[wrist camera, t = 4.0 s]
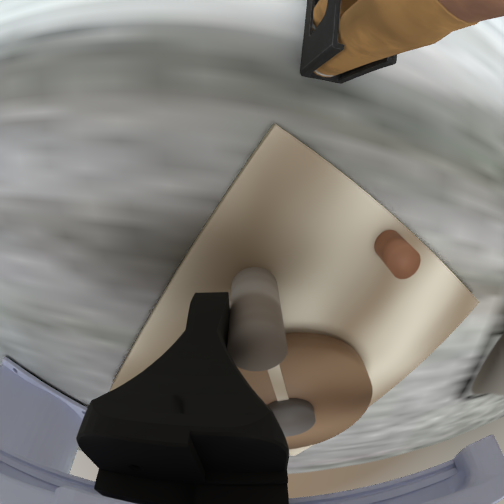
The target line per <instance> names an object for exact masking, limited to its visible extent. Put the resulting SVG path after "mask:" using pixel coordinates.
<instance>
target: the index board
mask: <svg viewBox="0 0 504 504" xmlns="http://www.w3.org/2000/svg"><path fill="white" fill-rule="evenodd" d="M250 267H260V268H263V269H266V270H268V271H269V272H271V273H272V274H273V275H274V277H275V278H276V281H277V285H278V291H279V297H280V304H281V310H282V316H283V322H284V329H285V333H291V332H303V333H314V334H321V335H325V336H329V337H332V338H335V339H338V340H340V341H342V342H344V343H346V344H348V345H349V346H350V347H352V348H353V349H354V350H355V351H356V352H357V353H358V354H359V355H360V357H361V358H362V360H363V362H364V365H365V367H366V370H367V372H368V375H369V378H370V380H371V384H372V390H373V394H372V399H371V402H370V404H369V406H370V405H372V404H373V403H374V402H376V401H377V400H378V399H379V398H381V397H382V396H383V395H385V394H386V393H387V392H388V391H389V390H391V389H392V388H393V387H394V386H395V385H397V384H398V383H399V382H400V381H401V380H403V379H404V378H405V377H406V376H407V375H408V374H409V373H411V372H412V371H413V370H414V369H415V368H416V367H417V366H418V365H419V364H421V363H422V362H423V361H424V360H425V359H426V358H427V357H428V356H429V355H430V354H431V353H432V352H433V351H434V350H435V349H436V348H437V347H438V346H439V345H440V344H441V343H442V342H443V341H444V340H445V339H446V338H447V337H448V336H449V335H450V334H451V333H452V332H453V331H454V330H455V329H456V328H457V327H458V326H459V325H460V324H461V322H462V321H463V320H464V319H465V318H466V317H467V316H468V315H469V314H470V312H471V311H472V310H473V309H474V308H475V307H476V305H477V304H478V303H479V301H478V300H477V299H476V298H475V297H474V296H473V294H472V293H471V292H470V291H469V290H468V289H467V288H466V287H465V286H464V284H463V283H462V282H461V281H460V280H459V279H458V278H457V277H456V276H455V275H454V274H453V273H452V272H451V271H450V270H449V269H448V268H447V266H446V265H445V264H444V263H443V262H442V261H441V260H440V259H439V258H438V257H437V256H436V255H435V254H434V253H433V252H432V251H431V250H430V249H429V248H428V247H427V246H426V245H424V244H423V243H422V242H421V241H420V240H419V239H418V238H417V237H416V236H415V235H414V234H413V233H412V232H411V231H410V230H409V229H408V228H406V227H405V226H404V225H403V224H402V223H401V222H400V221H399V220H398V219H397V218H395V217H394V216H393V215H392V214H391V213H390V212H389V211H388V210H386V209H385V208H384V207H383V206H382V205H381V204H380V203H378V202H377V201H376V200H375V199H374V198H372V197H371V196H370V195H369V194H368V193H367V192H365V191H364V190H363V189H362V188H360V187H359V186H358V185H357V184H356V183H354V182H353V181H352V180H351V179H349V178H348V177H347V176H346V175H344V174H343V173H342V172H341V171H339V170H338V169H337V168H335V167H334V166H333V165H332V164H330V163H329V162H328V161H326V160H325V159H324V158H322V157H321V156H320V155H318V154H317V153H316V152H314V151H313V150H312V149H310V148H309V147H307V146H306V145H305V144H303V143H302V142H300V141H299V140H298V139H296V138H295V137H293V136H292V135H291V134H289V133H288V132H286V131H285V130H283V129H282V128H280V127H279V126H277V125H276V124H273V125H272V127H271V128H270V129H269V131H268V132H267V134H266V135H265V137H264V138H263V139H262V141H261V142H260V144H259V145H258V146H257V148H256V149H255V151H254V152H253V154H252V155H251V157H250V158H249V159H248V161H247V162H246V164H245V165H244V167H243V168H242V170H241V171H240V173H239V174H238V176H237V177H236V179H235V180H234V181H233V183H232V184H231V186H230V187H229V189H228V190H227V192H226V193H225V195H224V196H223V198H222V200H221V201H220V203H219V204H218V206H217V207H216V209H215V210H214V212H213V213H212V215H211V216H210V218H209V219H208V221H207V223H206V224H205V226H204V227H203V229H202V230H201V232H200V234H199V235H198V237H197V238H196V240H195V241H194V243H193V245H192V246H191V248H190V249H189V251H188V253H187V254H186V256H185V257H184V259H183V261H182V262H181V264H180V266H179V267H178V269H177V271H176V272H175V274H174V275H173V277H172V279H171V280H170V282H169V284H168V285H167V287H166V289H165V290H164V292H163V294H162V296H161V297H160V299H159V301H158V302H157V304H156V306H155V307H154V309H153V311H152V313H151V314H150V316H149V318H148V320H147V321H146V323H145V325H144V327H143V328H142V330H141V332H140V334H139V335H138V337H137V339H136V341H135V342H134V344H133V346H132V348H131V350H130V351H129V353H128V355H127V357H126V359H125V361H124V362H123V364H122V366H121V368H120V370H119V372H118V374H117V375H116V377H115V379H114V381H113V384H112V386H111V389H110V391H112V390H114V389H116V388H118V387H119V386H121V385H123V384H124V383H126V382H127V381H129V380H131V379H132V378H134V377H135V376H137V375H138V374H140V373H141V372H142V371H144V370H145V369H146V368H147V367H149V366H150V365H151V364H152V363H154V362H155V361H156V360H157V359H158V358H159V357H161V356H162V355H163V354H164V353H165V352H166V351H167V350H168V349H169V348H170V347H171V346H172V345H173V344H174V343H175V342H176V340H177V339H178V338H179V337H180V336H181V335H182V333H183V332H184V331H185V330H186V323H187V318H188V312H189V306H190V302H191V300H192V298H193V296H194V294H195V293H204V292H228V293H229V305H230V299H231V286H232V281H233V279H234V277H235V276H236V275H237V274H238V273H239V272H240V271H242V270H244V269H246V268H250ZM369 406H368V407H369ZM310 446H312V445H310ZM310 446H306V447H302V448H296V449H289V455H292V456H295V455H297V454H299V453H300V452H302V451H304V450H305V449H307V448H309V447H310Z"/></svg>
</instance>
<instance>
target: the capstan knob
mask: <svg viewBox="0 0 504 504" xmlns="http://www.w3.org/2000/svg"><path fill="white" fill-rule="evenodd" d="M227 350H228V352H229V354H230V356H231V357H232V359H233V361H234V363H235V364H236V366H237V368H238V369H239V371H240V372H241V374H242V375H243V377H244V378H245V379H246V381H247V382H248V384H249V385H250V386H251V388H252V389H253V390H254V391H255V392H256V394H257V395H258V396H259V397H260V398H261V399H262V400H263V402H264V403H265V404H266V405H267V406H268V407H269V408H270V409H271V410H272V411H273V413H274V415H275V417H276V419H277V421H278V423H279V425H280V427H281V429H282V431H283V433H284V435H285V438H286V440H287V444H288V447H289V449H296V448H302V447H306V446H310V445H314V444H317V443H320V442H323V441H325V440H328V439H330V438H332V437H334V436H336V435H338V434H340V433H342V432H343V431H345V430H346V429H348V428H349V427H350V426H352V425H353V424H354V423H355V422H356V421H357V420H358V419H359V418H360V417H361V416H362V415H363V414H364V413H365V411H366V410H367V408H368V406H369V404H370V402H371V399H372V394H373V390H372V384H371V380H370V378H369V375H368V372H367V370H366V367H365V365H364V362H363V360H362V358H361V357H360V355H359V354H358V353H357V352H356V351H355V350H354V349H353V348H352V347H350V346H349V345H348V344H346V343H344V342H342V341H340V340H338V339H335V338H332V337H329V336H325V335H321V334H314V333H303V332H291V333H285V329H284V322H283V316H282V310H281V304H280V297H279V291H278V285H277V281H276V278H275V277H274V275H273V274H272V273H271V272H269V271H268V270H266V269H263V268H260V267H250V268H246V269H244V270H242V271H240V272H239V273H238V274H237V275H236V276H235V277H234V279H233V281H232V286H231V299H230V317H229V329H228V341H227Z"/></svg>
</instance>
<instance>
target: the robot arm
mask: <svg viewBox="0 0 504 504" xmlns="http://www.w3.org/2000/svg"><path fill="white" fill-rule="evenodd" d="M229 317H230V305H229V293H228V292H204V293H195V294H194V296H193V298H192V300H191V302H190V306H189V312H188V318H187V323H186V330H185V331H184V332H183V333H182V335H181V336H180V337H179V338H178V339H177V340H176V342H175V343H174V344H173V345H172V346H171V347H170V348H169V349H168V350H167V351H166V352H165V353H164V354H163V355H162V356H161V357H159V358H158V359H157V360H156V361H155V362H154V363H152V364H151V365H150V366H149V367H147V368H146V369H145V370H144V371H142V372H141V373H140V374H138V375H137V376H135V377H134V378H132V379H131V380H129V381H127V382H126V383H124V384H123V385H121V386H119V387H118V388H116V389H114V390H112V391H110V392H108V393H106V394H104V395H102V396H100V397H98V398H96V399H94V400H92V401H91V403H90V405H89V407H88V408H87V407H85V406H83V405H81V404H79V403H78V402H76V401H74V400H72V399H70V398H69V397H67V396H65V395H63V394H62V393H60V392H58V391H57V390H55V389H53V388H52V387H50V386H49V385H47V384H45V383H44V382H42V381H41V380H39V379H38V378H36V377H35V376H33V375H32V374H30V373H29V372H27V371H26V370H24V369H23V368H21V367H20V366H18V365H17V364H16V363H14V362H13V361H12V360H10V359H9V358H7V357H4V358H3V360H2V363H3V364H2V366H1V367H0V504H496V503H498V502H499V501H500V500H502V499H504V456H503V454H502V451H501V449H500V447H499V445H498V443H497V441H496V439H495V437H494V435H489V436H487V437H485V438H483V439H481V440H479V441H476V442H475V443H472V444H470V445H468V446H466V447H465V448H464V449H462V450H461V451H460V452H459V453H458V454H457V455H456V456H455V458H454V459H452V460H450V461H447V462H445V463H442V464H440V465H437V466H434V467H432V468H429V469H426V470H423V471H420V472H417V473H415V474H411V475H408V476H405V477H401V478H398V479H395V480H391V481H387V482H383V483H379V484H375V485H371V486H367V487H363V488H358V489H353V490H348V491H342V492H337V493H331V494H324V495H317V496H309V497H300V498H290V499H289V498H288V487H287V483H288V476H287V465H288V459H289V447H288V444H287V440H286V438H285V435H284V433H283V431H282V429H281V427H280V425H279V423H278V421H277V419H276V417H275V415H274V413H273V411H272V410H271V409H270V408H269V407H268V406H267V405H266V404H265V403H264V402H263V400H262V399H261V398H260V397H259V396H258V395H257V394H256V392H255V391H254V390H253V389H252V388H251V386H250V385H249V384H248V382H247V381H246V379H245V378H244V377H243V375H242V374H241V372H240V371H239V369H238V368H237V366H236V364H235V363H234V361H233V359H232V357H231V356H230V354H229V352H228V350H227V341H228V329H229ZM78 446H79V447H80V448H81V449H82V451H83V452H84V453H85V454H86V455H87V456H88V457H89V458H90V459H91V460H92V461H93V463H94V464H96V466H97V467H98V468H99V471H98V475H97V479H96V482H94V481H90V480H87V479H84V478H80V477H77V476H74V475H70V474H69V473H70V470H71V467H72V464H73V461H74V458H75V455H76V452H77V449H78Z"/></svg>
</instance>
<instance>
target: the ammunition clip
mask: <svg viewBox="0 0 504 504" xmlns="http://www.w3.org/2000/svg"><path fill="white" fill-rule="evenodd" d="M501 16H504V0H307V9H306V19H305V29H304V39H303V48H302V57H301V66H300V73H301V75H302V76H305V77H311V78H316V79H322V80H327V81H332V82H337V83H344V82H346V81H349V80H351V79H354V78H356V77H359V76H361V75H364V74H366V73H369V72H372V71H374V70H377V69H380V68H383V67H387V66H390V65H393V64H395V63H396V60H397V54H399V53H403V52H406V51H409V50H413V49H416V48H420V47H424V46H428V45H431V44H434V43H436V42H437V41H439V40H441V39H442V38H443V37H445V36H446V35H448V34H449V33H451V32H452V31H455V30H458V29H462V28H465V27H468V26H471V25H475V24H477V23H478V22H479V21H483V20H487V19H492V18H497V17H501Z"/></svg>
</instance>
